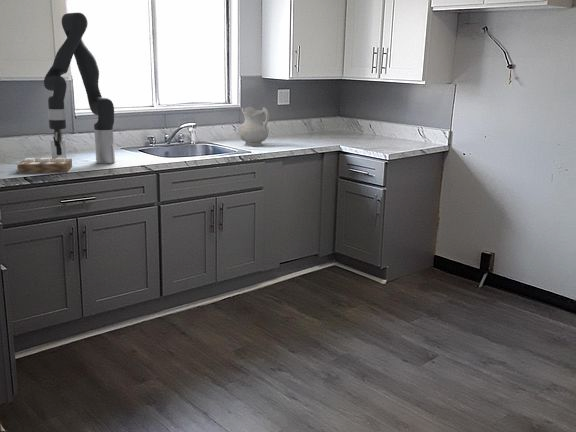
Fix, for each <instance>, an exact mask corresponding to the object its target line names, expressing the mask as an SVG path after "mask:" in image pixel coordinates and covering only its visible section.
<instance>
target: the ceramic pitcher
mask: <svg viewBox="0 0 576 432" xmlns="http://www.w3.org/2000/svg"><path fill="white" fill-rule="evenodd" d="M261 108H262V110H258V109H257V110H256V108H255V107H252V106H249V105H248V106H246V107H245V108H243V107H241V111H242V114H243V117H244V121H243V123H242V124H240V126H239V127H238V130H237V131H238V136H239V137H240V140H242V142H245V143H244V146H247V147H261V146H262V147H263V142H265V141H266V140H267V138H268V136H269V130H270V129H269V127H268V123H269V122H270V121H269V120H270V114H269V110H268V109H269V108H268V107H266V106H264V107H263V106H262V107H261ZM264 114H265V120H264V121H263V117H264Z"/></svg>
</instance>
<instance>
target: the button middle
mask: <svg viewBox="0 0 576 432" xmlns="http://www.w3.org/2000/svg"><path fill="white" fill-rule="evenodd" d="M39 159H40V162H50V159H51V157H41V158H39Z"/></svg>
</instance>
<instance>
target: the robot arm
mask: <svg viewBox="0 0 576 432" xmlns="http://www.w3.org/2000/svg"><path fill="white" fill-rule="evenodd" d="M61 17H62V18H61V25H62V29H63V32H64V34H65V35H66V39H65V41H64V42H63V43H62V45H61V46H60V48H59V49H58V51H57V52H56V54H55V56H54V60H53V62H52V63H53V64H52V66H51V67H50V68H49V70H48V72H46V74H45V76H44V79H43V86H44V88H45V89H46V90H48V91H51V92H52V91H53V92H52V96H49V97H48V99H47V102H48V106H47V107H48V127H49V128H48V129H50V130H53V131H54V132H53V133H52V138H53V139H52V140H54V144H55V146H56V151H57V155H62V145H63V139H64V132H63V130H66V129H67V122H66V121H67V119H66V118H67V117H66V111H65V110H66V109H65V97H66V92H67V82H66V79H65V78H64V77H63V75H65V74H67V73H68V70H69V68H70V65H71V63H72V59H73V57H74V59H75V62H76V65H77V68H78V72H79V74H80V77H81V80H82V84H83V86H84V88H85V89H84V90H85V93H86V97H87V101H88V105H89V109H90V111H91V113H92V114H93V115H95V116H97V121H96V122H95V123H94V124H93V128H94V133H93V134H94V147H95V148H94V149H95V163H97V164H114V163H115V162H116V158H115V157H116V153H115V142H114V124H115V107H114V103H113V100H111V99H109V98H107V97H102V94H101V90H100V88H99V79H100V71H99V66H98V62H97V60H96V57H95V55H94V54H93V52H92V51H91V50H90V49H89V47H88V46H87V45H86V44H85V42H84V40H83V35H84V34H85V32H86V30H87V29H88V23H89V21H88V19H87V16H86V15H85V14H84V13H82V12H68V13H65V14H63V15H62V16H61Z"/></svg>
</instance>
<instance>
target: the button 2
mask: <svg viewBox="0 0 576 432" xmlns="http://www.w3.org/2000/svg"><path fill="white" fill-rule="evenodd" d="M66 159H67V158H66ZM66 159H65V158H56V159H55V161H56V162H65V161H66Z"/></svg>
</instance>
